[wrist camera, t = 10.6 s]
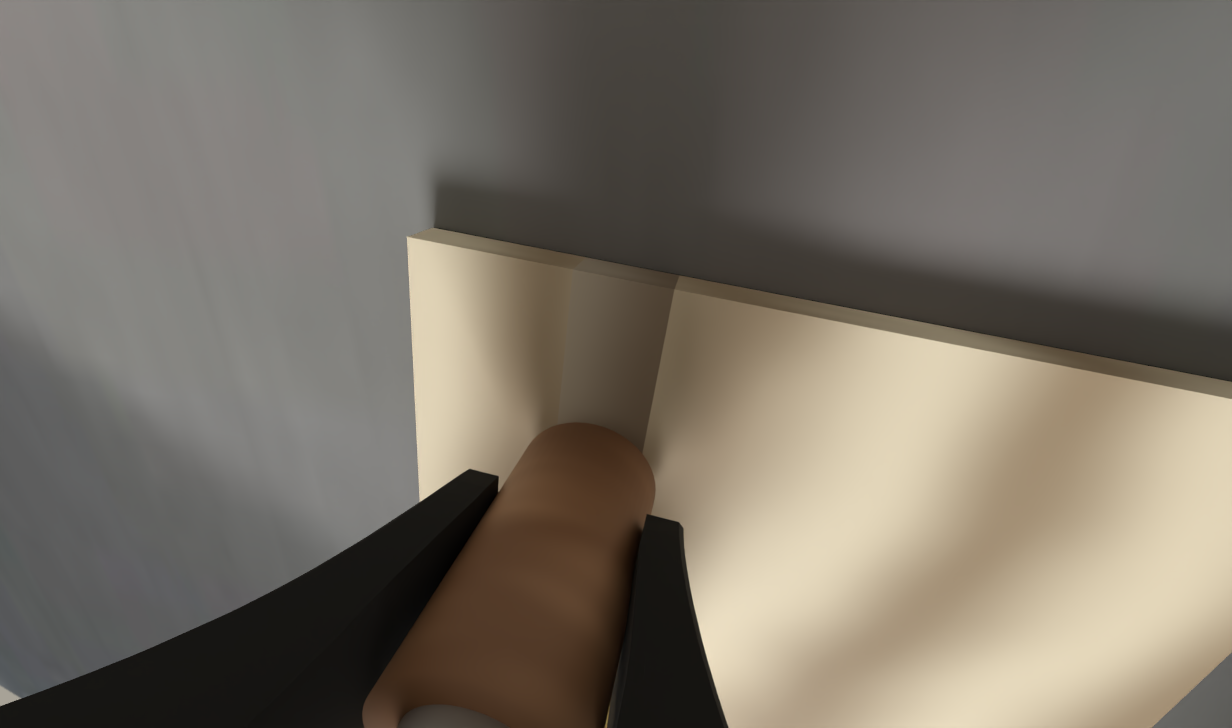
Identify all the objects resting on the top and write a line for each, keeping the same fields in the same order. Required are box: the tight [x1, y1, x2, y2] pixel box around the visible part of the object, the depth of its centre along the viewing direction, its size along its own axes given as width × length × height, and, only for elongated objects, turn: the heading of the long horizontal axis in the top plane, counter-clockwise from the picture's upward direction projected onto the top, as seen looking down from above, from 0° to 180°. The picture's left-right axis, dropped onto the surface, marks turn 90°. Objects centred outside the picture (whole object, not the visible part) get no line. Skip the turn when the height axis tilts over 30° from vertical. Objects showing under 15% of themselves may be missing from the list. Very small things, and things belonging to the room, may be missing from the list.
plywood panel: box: [407, 228, 1232, 728], centre depth 14 cm, size 18×21×1 cm
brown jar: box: [362, 422, 656, 728], centre depth 8 cm, size 3×3×6 cm
